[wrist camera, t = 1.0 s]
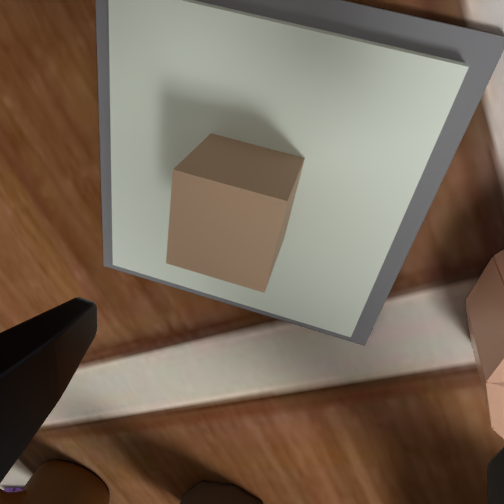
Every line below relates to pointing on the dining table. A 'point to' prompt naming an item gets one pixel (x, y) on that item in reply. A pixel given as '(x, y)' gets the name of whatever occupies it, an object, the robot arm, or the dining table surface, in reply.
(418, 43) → the mat
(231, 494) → the beer bottle
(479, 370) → the bowl
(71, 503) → the mug
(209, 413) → the dining table surface
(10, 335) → the robot arm
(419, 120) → the cover sheet
